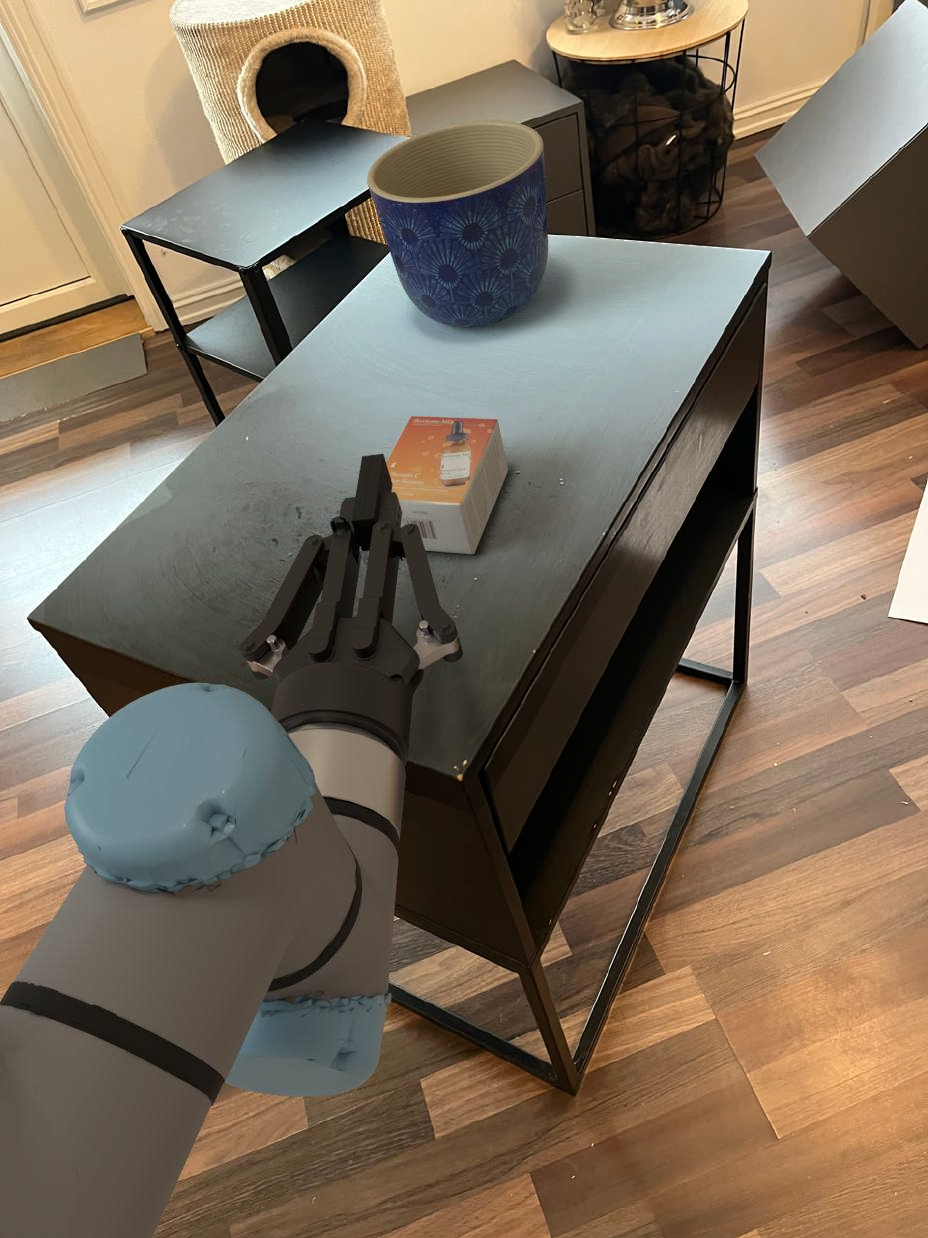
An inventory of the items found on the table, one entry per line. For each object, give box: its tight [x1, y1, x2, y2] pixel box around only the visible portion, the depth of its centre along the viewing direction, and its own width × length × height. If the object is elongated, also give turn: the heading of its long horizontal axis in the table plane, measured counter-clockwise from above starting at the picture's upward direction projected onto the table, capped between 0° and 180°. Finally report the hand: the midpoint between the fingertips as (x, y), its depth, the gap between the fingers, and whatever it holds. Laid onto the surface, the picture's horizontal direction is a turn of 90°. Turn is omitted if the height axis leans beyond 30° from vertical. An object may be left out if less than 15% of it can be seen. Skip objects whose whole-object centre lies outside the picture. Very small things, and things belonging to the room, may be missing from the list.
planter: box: [366, 119, 549, 328], centre depth 93 cm, size 17×17×15 cm
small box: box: [385, 415, 509, 555], centre depth 75 cm, size 8×6×10 cm
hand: (377, 470), depth 64 cm, fingers closed
